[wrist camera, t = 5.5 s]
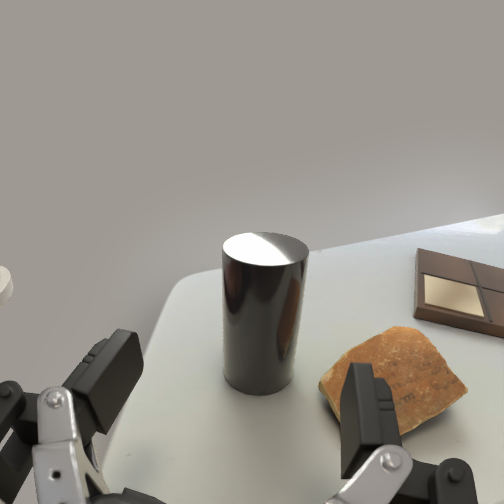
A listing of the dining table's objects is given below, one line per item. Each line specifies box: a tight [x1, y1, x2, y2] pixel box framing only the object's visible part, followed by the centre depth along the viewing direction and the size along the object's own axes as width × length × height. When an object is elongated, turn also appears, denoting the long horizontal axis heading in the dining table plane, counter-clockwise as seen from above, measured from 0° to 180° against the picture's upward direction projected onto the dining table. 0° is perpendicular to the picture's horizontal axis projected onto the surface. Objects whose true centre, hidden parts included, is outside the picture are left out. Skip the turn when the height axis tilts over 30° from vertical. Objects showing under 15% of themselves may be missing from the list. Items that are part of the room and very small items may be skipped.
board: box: [414, 248, 504, 338], centre depth 30 cm, size 16×16×1 cm
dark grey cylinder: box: [222, 232, 309, 395], centre depth 19 cm, size 5×5×9 cm
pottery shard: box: [318, 326, 468, 436], centre depth 19 cm, size 10×9×2 cm
